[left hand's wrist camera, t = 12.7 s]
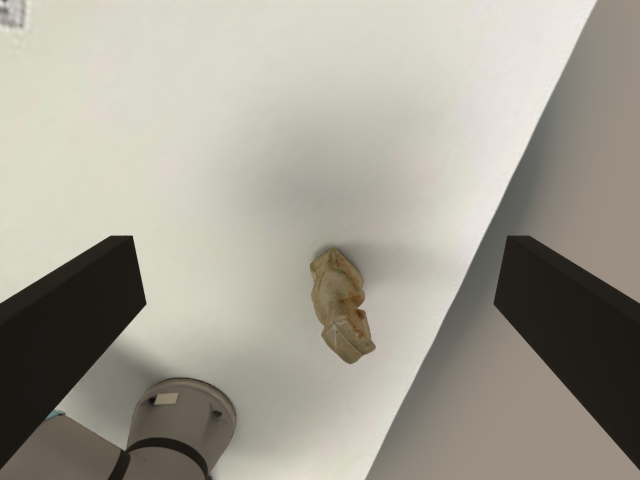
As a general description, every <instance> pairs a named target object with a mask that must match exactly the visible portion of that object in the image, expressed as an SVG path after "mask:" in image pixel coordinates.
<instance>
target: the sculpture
mask: <svg viewBox="0 0 640 480" xmlns="http://www.w3.org/2000/svg"><path fill="white" fill-rule="evenodd" d="M310 269H311V273H312V276H313V279H314V282H315V284H314V287H313V290H312V293H311V298H312V301H313V305H314V308H315V311H316V314H317V317H318V319H319V321H320V322H321V323H322V324H323V325H325V328H324V329H323V331H322V333H321V336H322V337H323V339H324V341H325V342H326V344H327V345H328V346H329V347H330V348H331V349H332V350H333V351H334V352H335V353H336V354H337V355H338V356H339V357H340V358H341V359H342V360H343V361H345V362H346V363H348V364H352V363H355V362H357V361H358V360H359V359H360V357H362V356H363V355H365V354H368V353H370V352H372V351H373V350H375V348H376V346H375V345H374V343H373V342H372V341H371V334H370V329H369V325H368V322H367V317H366V312H365V311H364V310H360V309H357V308H358V307H359V306H360V305H361V304H362V303H363V301H364V299H365V293H364V292H363V290H362V289H361V288H362V286H363V283H364V281H363V278H362V276H361V274H360V272H359V271H358V270H357V269H356V268H355V267H354V266H353V265H352V264H351V263H350V262H349V261H347V260H346V259H345V258H344V257H343V256H342V255H341V254H340V253H339V252H338V250H337V249H335V248H331V249H329V250H328V251H326V253H324V254H323V255H321V256H319V257H318V258H316V259H315V260H314V261H313V262H312V263H311V264H310Z"/></svg>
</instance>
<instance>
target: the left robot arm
mask: <svg viewBox="0 0 640 480" xmlns="http://www.w3.org/2000/svg"><path fill="white" fill-rule="evenodd" d="M145 305H146V299H145V294H144V289H143V284H142V279H141V274H140V269H139V265H138V260H137V255H136V250H135V245H134V240H133V236H109V237H108V238H106V239H104V240H103V241H101V242H100V243H98V244H96V245H95V246H93V247H91V248H90V249H88V250H87V251H85V252H83V253H82V254H80V255H78V256H77V257H75V258H74V259H72V260H70V261H69V262H67V263H65V264H64V265H62V266H61V267H59V268H57V269H56V270H54V271H52V272H51V273H49V274H48V275H46V276H44V277H43V278H41V279H39V280H38V281H36V282H34V283H33V284H31V285H30V286H28V287H26V288H25V289H23V290H21V291H20V292H18V293H17V294H15V295H13V296H12V297H10V298H8V299H7V300H5V301H4V302H2V303H0V480H211V478H210V477H209V473H210V471H211V470H212V468H213V467H214V465H215V464H216V462H217V461H218V459H219V458H220V456H221V455H222V454H223V452H224V451H225V449H226V448H227V446H228V444H229V443H230V441H231V439H232V436H233V432H234V429H235V424H236V415H235V411H234V408H233V406H232V405H231V403H230V401H229V400H228V399H227V398H226V397H225V396H224V395H223V394H222V393H221V392H220V391H218V390H217V389H215V388H214V387H212V386H210V385H208V384H206V383H203V382H200V381H196V380H192V379H170V380H165V381H162V382H159V383H157V384H155V385H153V386H152V387H150V388H149V389H148V390H147V391H146V392H145V393H144V394H143V396H142V397H141V399H140V401H139V402H138V404H137V406H136V408H135V411H134V414H133V418H132V422H131V427H130V432H129V437H128V442H127V447H126V450H125V451H124V450H122V449H120V448H119V447H117V446H115V445H114V444H112V443H110V442H109V441H107V440H106V439H104V438H102V437H101V436H99V435H97V434H96V433H94V432H92V431H91V430H89V429H87V428H86V427H84V426H82V425H81V424H79V423H77V422H76V421H74V420H72V419H71V418H69V417H68V416H66V415H65V413H64V412H63V411H56V410H54V409H55V407H56V406H57V405H58V404H59V403H60V402H61V401H62V400H63V398H64V397H65V396H66V395H67V394H68V393H69V392H70V390H71V389H72V388H73V387H74V386H75V385H76V384H77V382H78V381H79V380H80V379H81V378H82V377H83V376H84V375H85V373H86V372H87V371H88V370H89V369H90V368H91V367H92V365H93V364H94V363H95V362H96V361H97V360H98V359H99V358H100V356H101V355H102V354H103V353H104V352H105V351H106V350H107V348H108V347H109V346H110V345H111V344H112V343H113V342H114V340H115V339H116V338H117V337H118V336H119V335H120V334H121V333H122V331H123V330H124V329H125V328H126V327H127V326H128V325H129V323H130V322H131V321H132V320H133V319H134V318H135V317H136V315H137V314H138V313H139V312H140V311H141V310H142V309H143V308H144V306H145ZM494 305H495V306H496V308H497V309H498V310H499V311H500V312H501V313H502V314H503V315H504V317H505V318H506V319H507V320H508V321H509V322H510V323H511V325H512V326H513V327H514V328H515V329H516V330H517V331H518V332H519V334H520V335H521V336H522V337H523V338H524V339H525V340H526V342H527V343H528V344H529V345H530V346H531V347H532V348H533V350H534V351H535V352H536V353H537V354H538V355H539V356H540V358H541V359H542V360H543V361H544V362H545V363H546V364H547V365H548V367H549V368H550V369H551V370H552V371H553V372H554V373H555V375H556V376H557V377H558V378H559V379H560V380H561V381H562V382H563V384H564V385H565V386H566V387H567V388H568V389H569V390H570V391H571V393H572V394H573V395H574V396H575V397H576V398H577V400H578V401H579V402H580V403H581V404H582V405H583V406H584V407H585V409H586V410H587V411H588V412H589V413H590V414H591V415H592V416H593V418H594V419H595V420H596V421H597V422H598V423H599V425H600V426H601V427H602V428H603V429H604V430H605V431H606V432H607V434H608V435H609V436H610V437H611V438H612V439H613V440H614V442H615V443H616V444H617V445H618V446H619V447H620V448H621V449H622V451H623V452H624V453H625V454H626V455H627V456H628V457H629V459H630V460H631V461H632V462H633V463H634V464H635V465H636V467H637V468H638V469H639V470H640V303H638V302H636V301H635V300H633V299H631V298H630V297H628V296H627V295H625V294H623V293H622V292H620V291H619V290H617V289H615V288H614V287H612V286H610V285H609V284H607V283H605V282H604V281H602V280H601V279H599V278H597V277H596V276H594V275H592V274H591V273H589V272H588V271H586V270H584V269H583V268H581V267H579V266H578V265H576V264H575V263H573V262H571V261H570V260H568V259H566V258H565V257H563V256H562V255H560V254H558V253H557V252H555V251H553V250H552V249H550V248H549V247H547V246H545V245H544V244H542V243H540V242H539V241H537V240H536V239H534V238H532V237H531V236H507V240H506V245H505V250H504V255H503V260H502V265H501V269H500V274H499V279H498V284H497V289H496V294H495V299H494Z"/></svg>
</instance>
